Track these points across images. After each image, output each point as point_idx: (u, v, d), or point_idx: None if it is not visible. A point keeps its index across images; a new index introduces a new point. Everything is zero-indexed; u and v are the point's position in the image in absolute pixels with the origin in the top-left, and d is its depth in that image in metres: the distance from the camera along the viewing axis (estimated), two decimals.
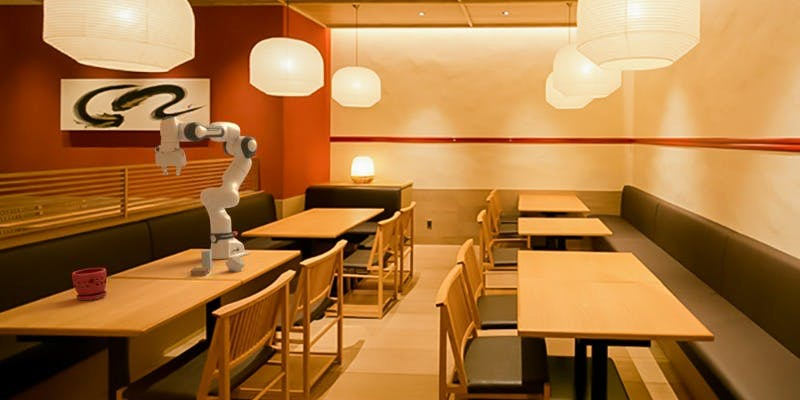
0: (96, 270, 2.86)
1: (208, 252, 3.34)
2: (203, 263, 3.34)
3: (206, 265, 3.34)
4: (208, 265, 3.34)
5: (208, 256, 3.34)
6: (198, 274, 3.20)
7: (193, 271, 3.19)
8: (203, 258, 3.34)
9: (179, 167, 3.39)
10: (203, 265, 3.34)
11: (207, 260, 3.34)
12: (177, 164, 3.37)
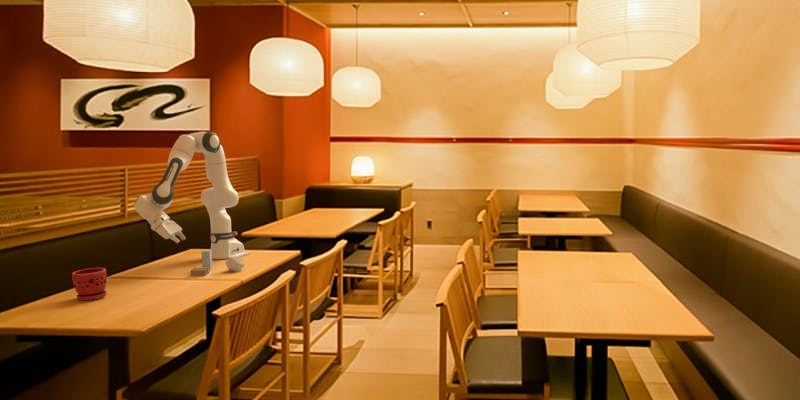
0: (96, 270, 2.86)
1: (208, 252, 3.34)
2: (203, 263, 3.34)
3: (206, 265, 3.34)
4: (208, 265, 3.34)
5: (208, 256, 3.34)
6: (198, 274, 3.20)
7: (193, 271, 3.19)
8: (203, 258, 3.34)
9: None
10: (203, 265, 3.34)
11: (207, 260, 3.34)
12: (180, 228, 3.42)
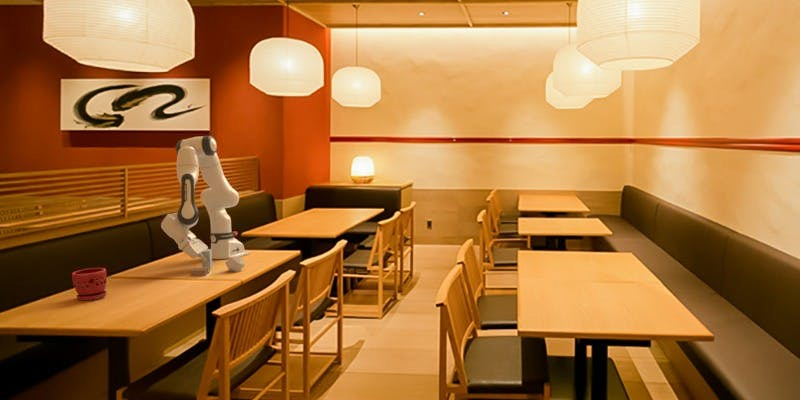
0: (96, 270, 2.86)
1: (208, 252, 3.34)
2: (203, 263, 3.34)
3: (206, 265, 3.34)
4: (208, 265, 3.34)
5: (208, 256, 3.34)
6: (198, 274, 3.20)
7: (193, 271, 3.19)
8: None
9: None
10: (203, 265, 3.34)
11: (207, 260, 3.34)
12: (206, 246, 3.43)
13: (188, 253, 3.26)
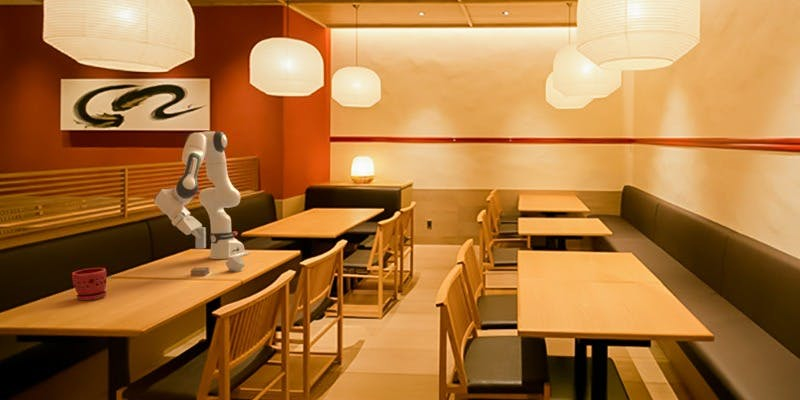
0: (96, 270, 2.86)
1: (202, 229, 3.24)
2: (197, 240, 3.24)
3: (200, 243, 3.24)
4: (202, 243, 3.24)
5: (202, 233, 3.24)
6: (198, 274, 3.20)
7: (193, 271, 3.19)
8: None
9: None
10: (196, 242, 3.24)
11: (201, 237, 3.24)
12: (200, 224, 3.33)
13: (182, 229, 3.15)
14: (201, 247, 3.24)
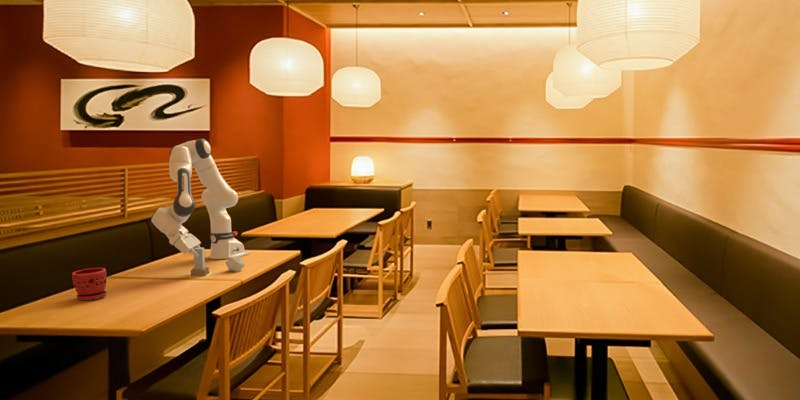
0: (96, 270, 2.86)
1: (200, 250, 3.20)
2: (195, 261, 3.20)
3: (198, 263, 3.21)
4: (200, 263, 3.21)
5: (200, 254, 3.20)
6: (198, 274, 3.20)
7: (193, 271, 3.19)
8: None
9: None
10: (195, 263, 3.21)
11: (199, 258, 3.20)
12: (198, 241, 3.29)
13: (179, 248, 3.12)
14: (200, 268, 3.21)
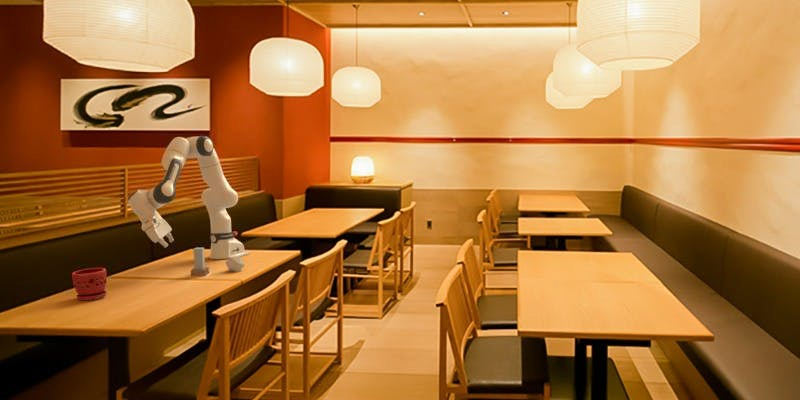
0: (96, 270, 2.86)
1: (200, 250, 3.20)
2: (195, 261, 3.20)
3: (198, 263, 3.21)
4: (200, 263, 3.21)
5: (200, 254, 3.20)
6: (198, 274, 3.20)
7: (193, 271, 3.19)
8: (195, 256, 3.20)
9: None
10: (195, 263, 3.21)
11: (199, 258, 3.20)
12: (170, 229, 3.30)
13: (150, 236, 3.13)
14: (200, 268, 3.21)
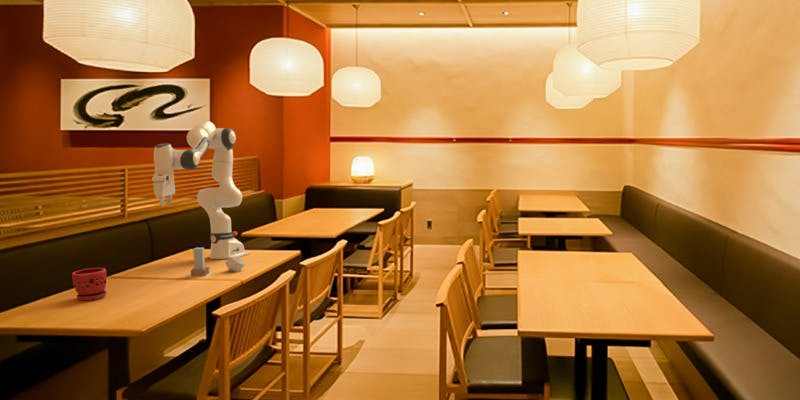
0: (96, 270, 2.86)
1: (200, 250, 3.20)
2: (195, 261, 3.20)
3: (198, 263, 3.21)
4: (200, 263, 3.21)
5: (200, 254, 3.20)
6: (198, 274, 3.20)
7: (193, 271, 3.19)
8: (195, 256, 3.20)
9: None
10: (195, 263, 3.21)
11: (199, 258, 3.20)
12: (173, 192, 3.33)
13: (155, 189, 3.16)
14: (200, 268, 3.21)
